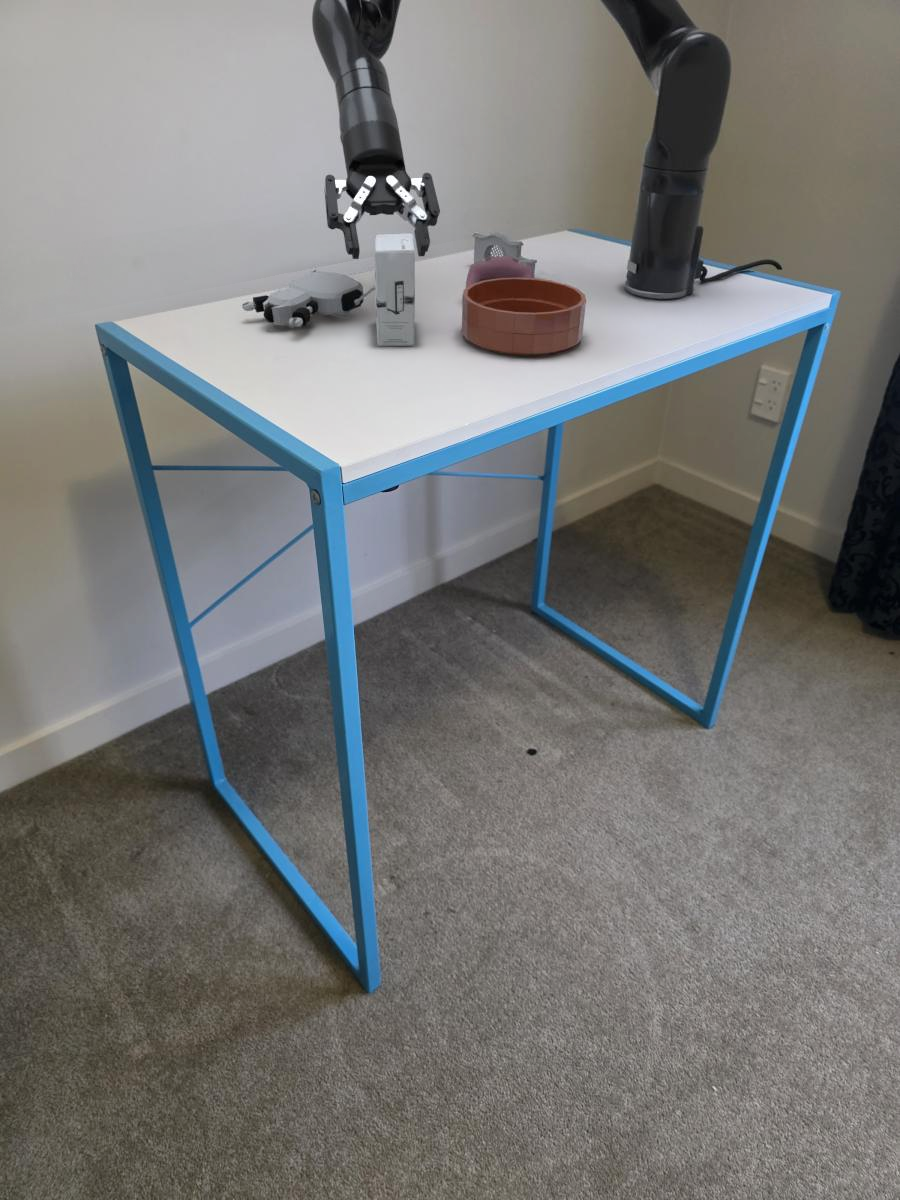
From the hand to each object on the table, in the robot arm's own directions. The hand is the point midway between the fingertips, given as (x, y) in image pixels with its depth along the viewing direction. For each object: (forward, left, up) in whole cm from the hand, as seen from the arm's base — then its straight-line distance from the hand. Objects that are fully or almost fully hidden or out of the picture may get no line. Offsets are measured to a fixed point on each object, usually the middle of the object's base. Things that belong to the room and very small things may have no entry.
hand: (390, 254), depth 109 cm
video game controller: (-18, -10, -10) cm, 23 cm away
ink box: (0, +2, -10) cm, 10 cm away
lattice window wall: (-23, -24, -10) cm, 34 cm away
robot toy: (+10, -7, -10) cm, 15 cm away
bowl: (-16, +6, -10) cm, 20 cm away
